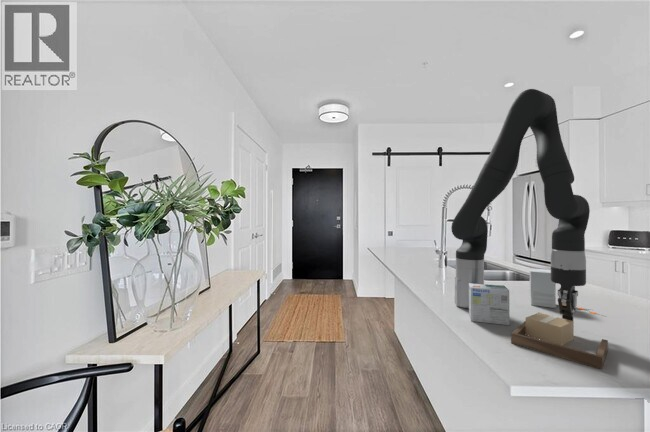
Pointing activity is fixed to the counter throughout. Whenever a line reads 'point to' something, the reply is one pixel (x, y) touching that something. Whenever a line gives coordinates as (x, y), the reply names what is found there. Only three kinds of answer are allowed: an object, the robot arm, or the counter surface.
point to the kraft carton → (550, 328)
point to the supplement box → (542, 288)
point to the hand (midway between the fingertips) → (567, 328)
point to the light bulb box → (489, 303)
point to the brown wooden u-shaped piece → (560, 349)
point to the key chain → (586, 310)
